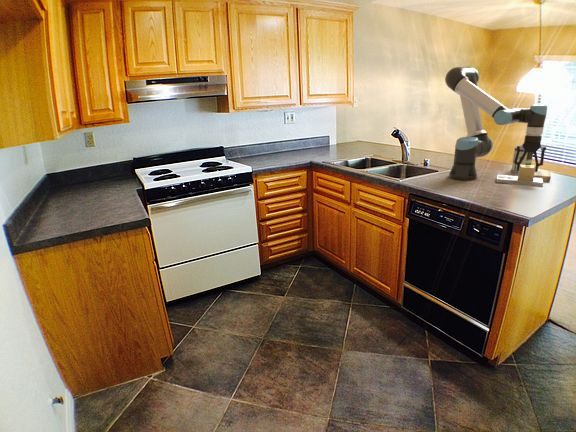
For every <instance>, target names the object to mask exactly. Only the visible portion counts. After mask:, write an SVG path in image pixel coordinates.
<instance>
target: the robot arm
mask: <svg viewBox="0 0 576 432" xmlns="http://www.w3.org/2000/svg"><path fill="white" fill-rule="evenodd" d="M479 79H480V74H479V72H478V70H477V69H476V68H475V67H472V66H454V67H453V68H450V69H449V70H448V72H447V73H446V75H445V79H444V80H445V84H446V86H447V87H448V88H449V89H450V90H451V91H453V92H454V93H456V94H457V95H459V97H460V102H461V107H462V112H463V117H464V122H465V126H466V127H465V128H466V132H467V135H466V136H463V137H459V138H458V139H456V141H455V146H454V147H455V148H454V155H453V156H454V157H453V164H452V167H451V169H450V171H449V173H448V178H449V179H452V180H457V181H473V180H474V181H475V180H476V179H478V178H477V177H478V174H477V169H476V161H477V158H481V157H484V156H487V155H488V154H489V153H491V151H492V149H493V147H494V142H493V140H492V138H490V137H489V136H488V132H487V131H486V130H484V126H483V122H482V116H481V112H480V111H481V110H482V111H483V112H485V113H486V114H487V115H489V116H490V117H491V118H492V119H493V121H494V123H495V124H496V125H499V126H505V125H506V126H507V125H509V124H515V123H518V124H519V123H522V124H526V130H525V136H524V141H523V144H520V145H516V148H517V153H516V157H515V161H514V163H515V164H517V171H519V172H517V176H518V177H519V176H520V171H521V166H522V165H520V164H521V162H522V160H523V159H524V157H525V155H526V154H527V152H532V153H533V156H534V161H535V165H533V166H534V172H533V177H532V178H534V174H535V172H537V171H539V170H538V169H539V167H541V166H543V165H544V159H545V158H544V157H545V151H546V149H547V147H546V146H543V145H542V144H541V142H542V137H543V136H542V135H543V132H544V127H545V122H546V118H547V111H548V105H546V104H532V105H530V107H529V108H524V107H523V108H522V107H506V106H504V104H502V103H500V102H499V101H498V100H497V99H495V98H494V97H492V96H491V95H489V94H488V93H486V91H484V90H482V89H481V88H480V87H478V82H479ZM480 109H481V110H480ZM522 147H523V148H524V150H525V151H524V153H523V155H522V156H521V158H520V160H519V162H517V160H518V156H519V152H520V149H521V148H522ZM539 149H540V150H541V152H540V160H539V159H538V153H537V151H538V150H539Z"/></svg>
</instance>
